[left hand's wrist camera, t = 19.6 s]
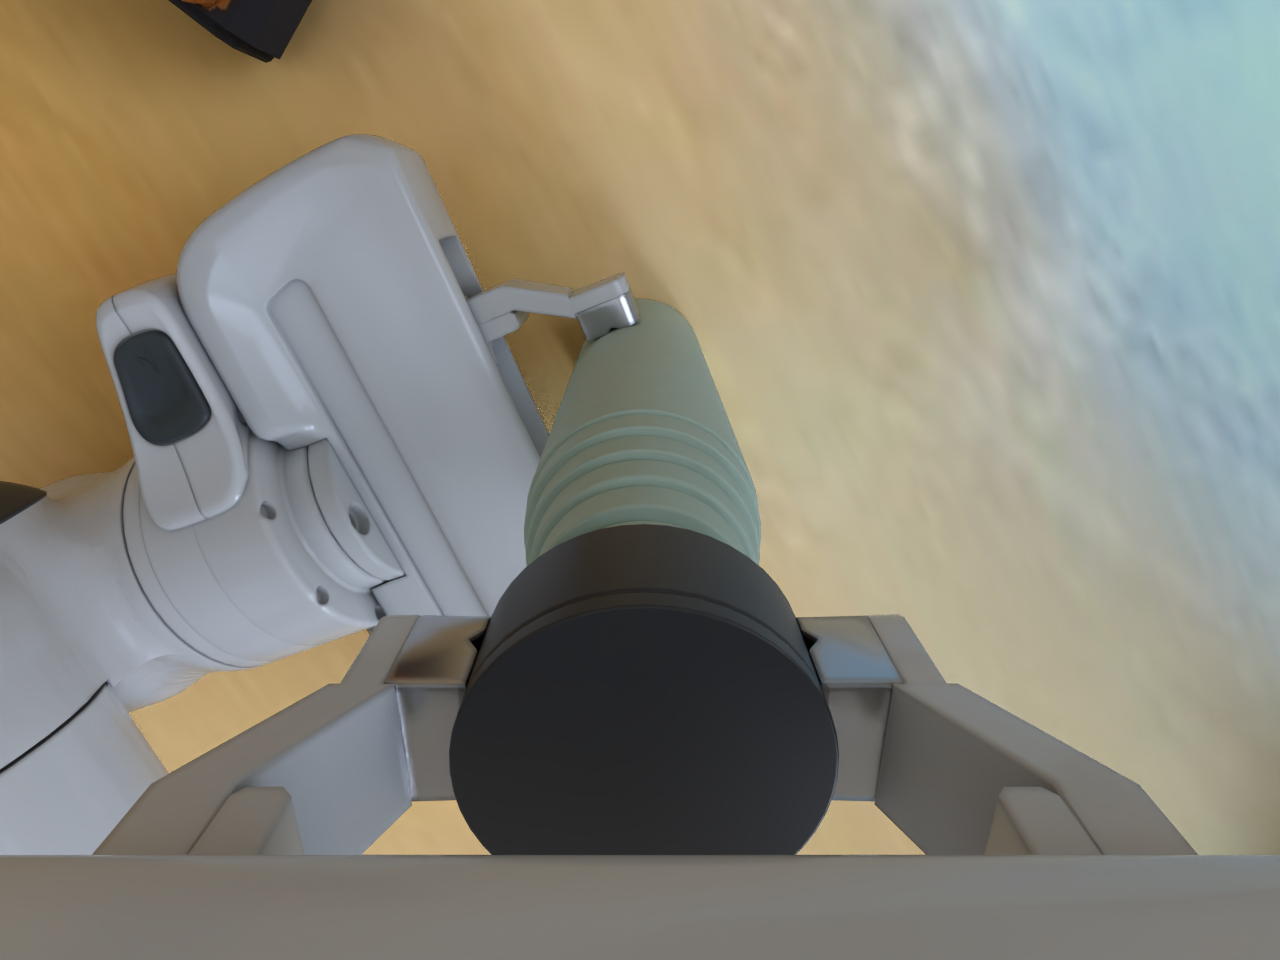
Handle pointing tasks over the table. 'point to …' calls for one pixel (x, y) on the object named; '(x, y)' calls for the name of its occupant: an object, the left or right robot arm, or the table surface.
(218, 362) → the right robot arm
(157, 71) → the table surface
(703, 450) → the bottle
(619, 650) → the cap
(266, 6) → the power drill
